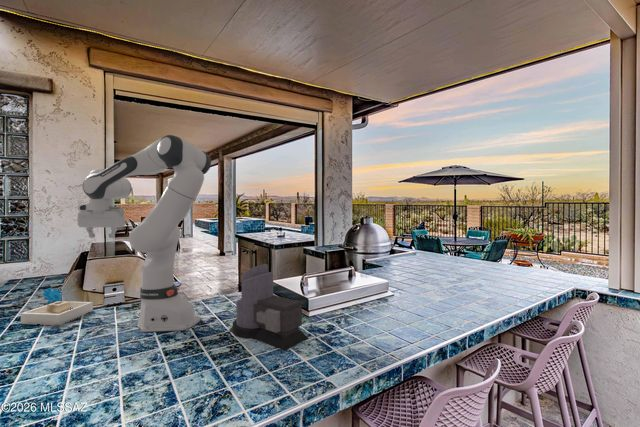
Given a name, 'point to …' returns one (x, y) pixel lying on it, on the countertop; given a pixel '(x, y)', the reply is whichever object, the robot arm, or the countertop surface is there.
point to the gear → (52, 295)
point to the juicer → (267, 312)
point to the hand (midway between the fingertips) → (101, 237)
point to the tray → (43, 318)
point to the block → (58, 307)
